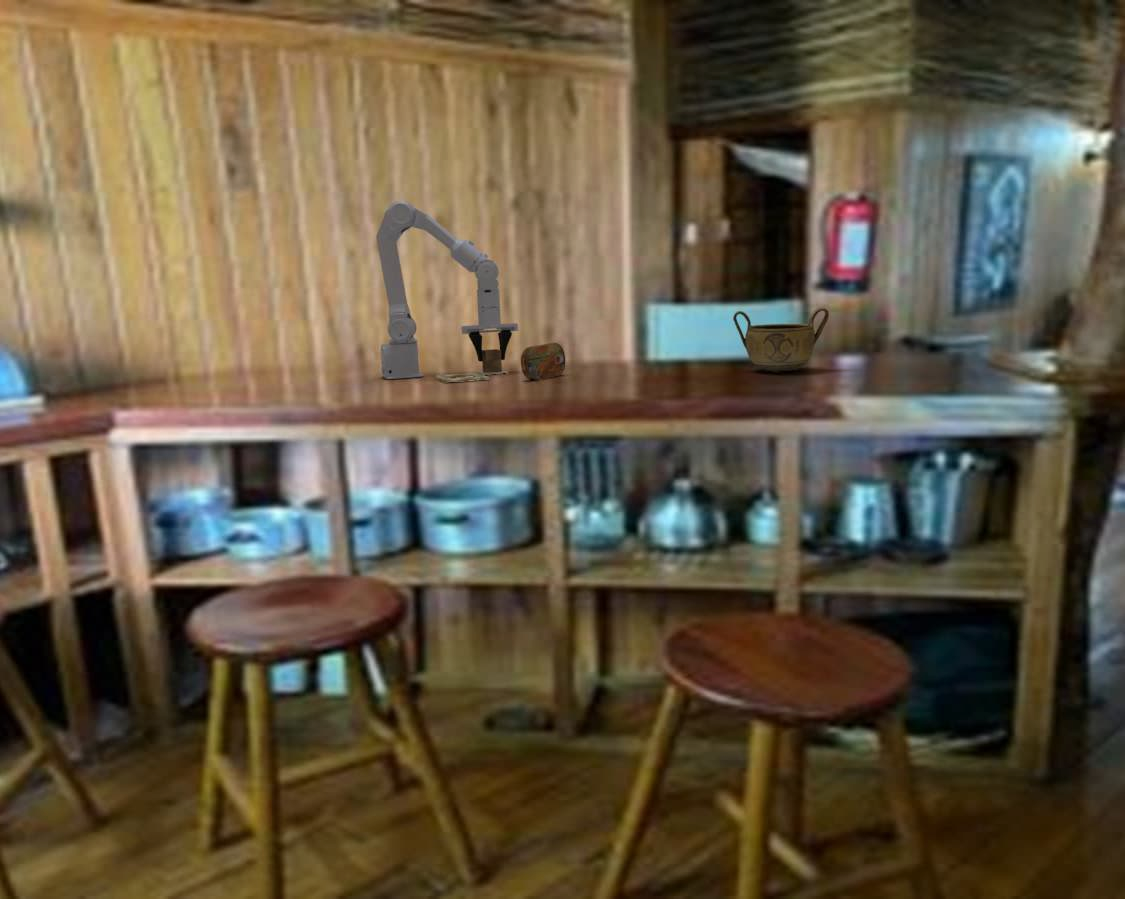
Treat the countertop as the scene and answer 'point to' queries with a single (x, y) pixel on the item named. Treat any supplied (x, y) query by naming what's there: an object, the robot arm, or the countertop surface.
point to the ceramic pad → (491, 372)
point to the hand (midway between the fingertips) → (491, 360)
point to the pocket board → (448, 378)
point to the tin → (543, 361)
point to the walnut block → (492, 360)
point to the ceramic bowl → (781, 343)
